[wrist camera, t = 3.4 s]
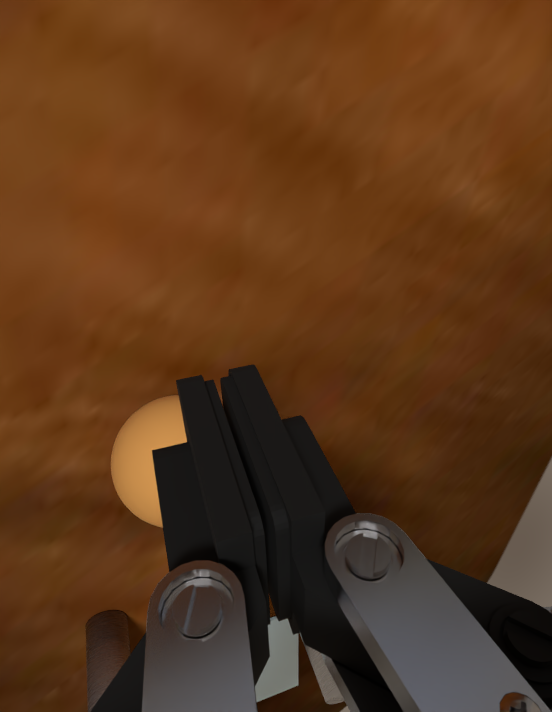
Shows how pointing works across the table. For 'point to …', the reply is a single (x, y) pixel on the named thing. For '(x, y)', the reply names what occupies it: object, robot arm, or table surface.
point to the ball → (145, 454)
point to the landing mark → (279, 661)
